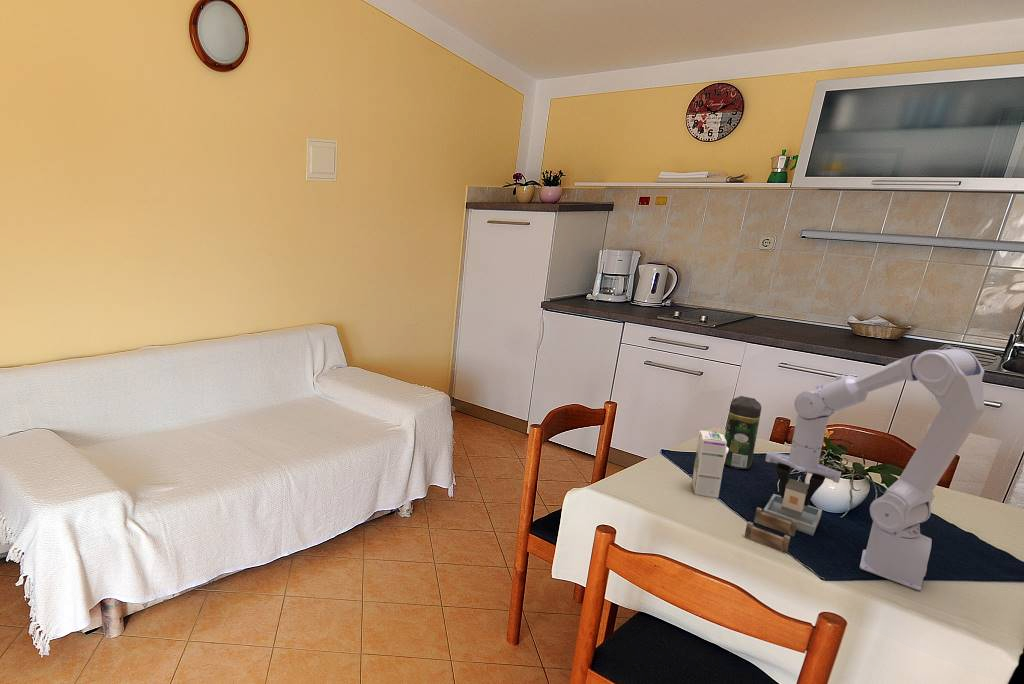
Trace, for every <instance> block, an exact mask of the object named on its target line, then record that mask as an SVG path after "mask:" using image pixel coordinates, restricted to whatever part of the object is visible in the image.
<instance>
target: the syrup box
mask: <svg viewBox="0 0 1024 684" xmlns="http://www.w3.org/2000/svg"><path fill="white" fill-rule="evenodd" d="M726 445H727V441H726V439H725V434H724V433H721V432H719V433H718V431H711V430H699V432H698V438H697V445H696V452H695V458H694V465H693V473H692V480H691V487H692V489H693V490H692V491H693V493H694V495H697V496H702V497H708V498H713V499H718V498H719V495H720V490H721V484H722V479H723V470H724V467H723V465H725V464H724V458H725V451H726Z"/></svg>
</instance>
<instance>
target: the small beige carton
mask: <svg viewBox="0 0 1024 684" xmlns="http://www.w3.org/2000/svg"><path fill="white" fill-rule="evenodd" d="M785 488H786V489H785V494H784V499H783V504H782V507H781V509H782V510H785V511H788V512H791V513H794V514H797V515H800V516H802V514H803V512H804V509H805V505H804V503H805V499H806V496H807V493H808V488H809V483H805V482H803V481H799V480H796V479H792V478H789V481H788V482H787V484H786V487H785Z"/></svg>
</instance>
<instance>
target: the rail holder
mask: <svg viewBox="0 0 1024 684" xmlns="http://www.w3.org/2000/svg"><path fill="white" fill-rule="evenodd" d="M754 523H756V524H758V525H761V526H763V527H767V528H769V529H773V530H774V531H776V532H777V531H778V532H780V533H783V534H784V536H780V535H778V534H775V533H772V532H770V531H768V530H764V529H762V528H759V527H756V526H754ZM797 523H798V521H796V520H792V522H790V521H787V520H784V519H781V518H778V517H775V516H773V515H770V514H767V513H764V512H763V508H761V507H758V506H757V507H756V509H755V515H754V519H753V522H751V521H747V523H746V527H745V531H744V536H743V537H744V538H745V539H748V540H751V541H754V542H756V543H759V544H762V545H765V546H767V547H770V548H772V549H775V550H777V551H780V552H782V553H785V554H787V553H788V549H789V544H790V542H791V541H790V540H791V537H795V536H796V531H797V530H796V527H797Z"/></svg>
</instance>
